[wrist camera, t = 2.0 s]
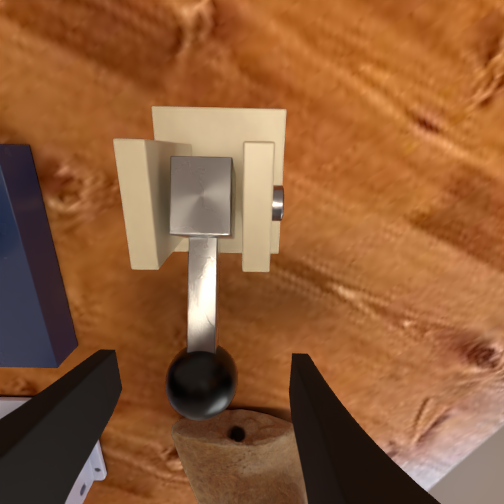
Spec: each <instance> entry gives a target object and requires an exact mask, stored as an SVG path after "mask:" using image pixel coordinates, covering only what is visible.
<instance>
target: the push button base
mask: <svg viewBox="0 0 504 504" xmlns="http://www.w3.org/2000/svg"><path fill="white" fill-rule="evenodd" d="M77 346H78V344H77V340H76V336H75V332H74V328H73V324H72V320H71V316H70V311H69V307H68V303H67V299H66V295H65V291H64V287H63V282H62V278H61V274H60V270H59V266H58V262H57V258H56V254H55V249H54V245H53V241H52V237H51V233H50V229H49V225H48V220H47V216H46V212H45V208H44V204H43V200H42V196H41V192H40V187H39V183H38V179H37V175H36V171H35V167H34V163H33V158H32V154H31V150H30V146H29V145H18V144H0V367H36V368H58V367H59V366H60V365H61V363H62V362H63V361H64V360H65V359H66V358H67V357H68V356H69V355H70V353H71V352H72V351H73V350H74V349H75V348H76V347H77Z"/></svg>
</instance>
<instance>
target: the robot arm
mask: <svg viewBox="0 0 504 504" xmlns="http://www.w3.org/2000/svg"><path fill="white" fill-rule="evenodd" d="M121 391H122V384H121V379H120V374H119V368H118V363H117V358H116V352H115V350H99V351H97V352H96V353H94V354H93V355H91V356H90V357H89V358H87V359H86V360H84V361H83V362H82V363H80V364H79V365H78V366H76V367H75V368H74V369H72V370H71V371H69V372H68V373H67V374H65V375H64V376H63V377H61V378H60V379H58V380H57V381H56V382H54V383H53V384H52V385H50V386H49V387H47V388H46V389H44V390H43V391H42V392H40V393H39V394H37V395H36V396H34V397H33V398H26V397H0V504H82V503H83V501H84V499H85V497H86V495H87V493H88V491H89V489H90V487H91V485H92V483H93V481H94V480H103V479H105V477H106V475H107V472H106V468H105V464H104V459H103V455H102V451H101V447H100V443H99V438H100V436H101V434H102V432H103V430H104V429H105V427H106V425H107V423H108V421H109V419H110V417H111V415H112V413H113V411H114V408H115V406H116V404H117V401H118V399H119V396H120V393H121ZM289 397H290V408H291V417H292V423H293V428H294V433H295V438H296V443H297V448H298V453H299V458H300V463H301V468H302V473H303V478H304V483H305V488H306V494H307V501H308V504H441V503H439V502H438V501H437V500H436V499H434V497H432V496H431V495H430V494H428V492H426V491H425V490H424V489H423V488H422V487H421V486H419V485H418V484H417V483H416V482H415V481H414V480H413V479H412V478H411V477H410V476H409V475H408V474H407V473H406V472H404V471H403V470H402V469H401V468H400V467H399V466H398V465H397V464H396V463H395V462H394V461H393V460H392V459H391V458H390V457H389V456H388V455H387V454H386V453H385V452H384V451H383V450H382V449H381V448H380V447H379V446H378V445H377V444H376V443H375V442H374V441H373V440H372V439H371V438H370V436H369V435H368V434H367V433H366V432H365V431H364V430H363V429H362V428H361V426H360V425H359V424H358V423H357V422H356V421H355V419H354V418H353V417H352V416H351V414H350V413H349V412H348V411H347V410H346V408H345V407H344V406H343V404H342V403H341V402H340V401H339V399H338V398H337V396H336V395H335V394H334V392H333V391H332V390H331V388H330V387H329V385H328V384H327V383H326V381H325V380H324V378H323V377H322V375H321V374H320V372H319V370H318V369H317V367H316V366H315V364H314V362H313V361H312V359H311V357H310V356H309V355H308V354H296V353H292V363H291V375H290V386H289Z"/></svg>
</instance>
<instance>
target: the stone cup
mask: <svg viewBox="0 0 504 504" xmlns="http://www.w3.org/2000/svg"><path fill="white" fill-rule="evenodd" d="M171 435H172V438H173V440H174V444H175V447H176V450H177V452H178V455H179V458H180V461H181V463H182V466H183V469H184V471H185V473H186V475H187V477H188V479H189V483H190V485H191V488H192V490H193V493H194V495H195V497H196V500H197V502H198V504H308V501H307V494H306V488H305V483H304V478H303V473H302V468H301V463H300V458H299V453H298V448H297V443H296V438H295V433H294V428H293V424H292V423H290V422H288V421H285V420H282V419H279V418H276V417H274V416H271V415H268V414H263V413H259V412H255V411H250V410H243V409H237V410H224V411H223V412H222V413H220V414H219V415H217V416H215V417H213V418H211V419H208V420H203V421H196V420H190V419H188V418H184V419H181V420H179V421H177V422H176V423H175V424H174V425H173V426H172V430H171Z"/></svg>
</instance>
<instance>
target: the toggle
mask: <svg viewBox="0 0 504 504" xmlns="http://www.w3.org/2000/svg"><path fill="white" fill-rule="evenodd" d="M235 210H236V173H235V168H234V163H233V159H232V157H206V156H171V157H170V201H169V234H170V235H173V236H178V237H183V238H189V251H188V302H187V347H185V348H184V349H182V350H181V351H180V352H179V353H178V354H177V355H176V356H175V357H174V359H173V360H172V362H171V364H170V366H169V368H168V371H167V375H166V382H165V385H166V394H167V397H168V400H169V402H170V404H171V405H172V407H173V408H174V409H175V411H176V412H178V413H179V414H180V415H181V416H183V417H185V418H188V419H190V420H196V421H203V420H208V419H211V418H213V417H215V416H217V415H219V414H220V413H222V412H223V411H224V410H225V409H226V408H227V407H228V406H229V404H230V403H231V401H232V399H233V397H234V395H235V393H236V389H237V385H238V372H237V367H236V364H235V362H234V360H233V358H232V356H231V355H230V354H229V353H228V352H227V351H226V350H225V349H224V348H223V347H221V346H219V345H218V341H219V290H220V240H221V239H234V238H235Z"/></svg>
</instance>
